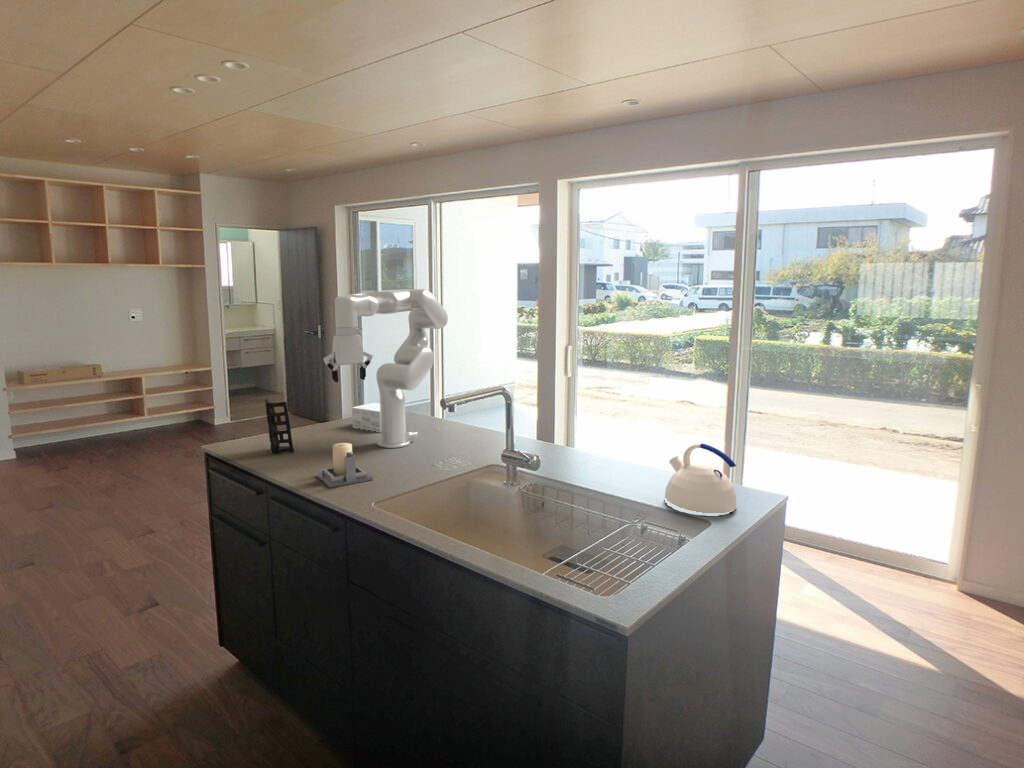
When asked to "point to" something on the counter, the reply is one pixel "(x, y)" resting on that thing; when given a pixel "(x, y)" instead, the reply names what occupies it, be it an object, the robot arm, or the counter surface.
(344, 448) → the paper roll
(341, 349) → the robot arm
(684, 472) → the kettle
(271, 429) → the holder
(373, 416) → the supplement box
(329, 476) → the stand
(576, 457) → the counter surface
